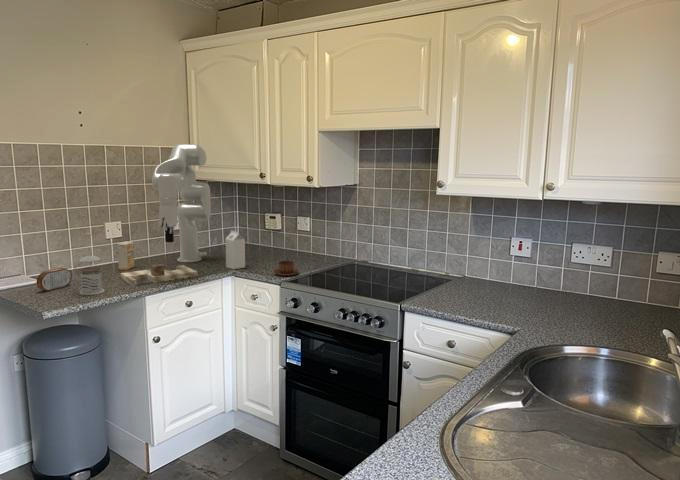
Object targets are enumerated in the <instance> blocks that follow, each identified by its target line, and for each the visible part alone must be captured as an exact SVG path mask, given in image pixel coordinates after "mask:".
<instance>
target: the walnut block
mask: <svg viewBox="0 0 680 480" xmlns="http://www.w3.org/2000/svg"><path fill="white" fill-rule="evenodd" d="M150 269H151V275H153V276H161V275H165V274H164V269H165V264H162V263H154V264H150Z"/></svg>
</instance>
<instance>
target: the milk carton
mask: <svg viewBox="0 0 680 480" xmlns="http://www.w3.org/2000/svg"><path fill="white" fill-rule="evenodd" d="M245 241H246V239H245V238H244V237H243V236H242V235H241V234H240V231H237V230H236V231H235V230H230V233H229V234H228V235H227V236H226V238H225V267H226V268H228V269H231V270H238V269H242V268H246V242H245Z"/></svg>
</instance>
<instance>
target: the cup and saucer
mask: <svg viewBox="0 0 680 480" xmlns="http://www.w3.org/2000/svg"><path fill="white" fill-rule="evenodd" d="M294 263H295V262H294V261H291V260H281V261H278V268H276V269H274V271H273V273H274V274H275V275H278V276H283V277H290V276H294V275H297V274H298V273H299V270H298V269H297V268H294Z"/></svg>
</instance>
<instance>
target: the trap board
mask: <svg viewBox="0 0 680 480" xmlns="http://www.w3.org/2000/svg"><path fill="white" fill-rule="evenodd" d="M119 274H120V279H121V280H122V281H124V282H126V283H127V284H128V285H130V286H131V287H137V286H143V285H149V284H155V283H162V282H163V281H164V282H169V280H171V281H175V279H177V280H183V279H182V278H184V279H189V278H188V277H191V278H198V270H195V269H193V268H191V267H188V266H186V265H184V264H181V265H176V269H174V270H173V269H172V270H167V269H165V268H164V274H165V275H161V276H153V275H151V268H149V269H142V270H136V271H130V272H121V273H119Z"/></svg>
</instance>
